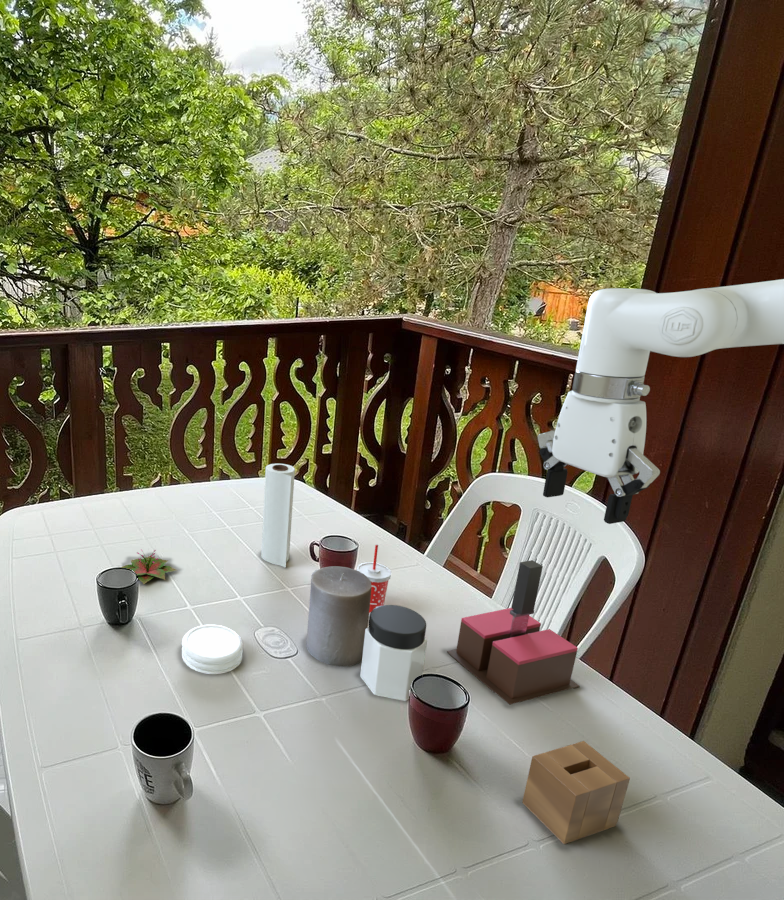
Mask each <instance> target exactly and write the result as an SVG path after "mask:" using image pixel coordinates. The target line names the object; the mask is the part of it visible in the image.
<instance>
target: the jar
mask: <svg viewBox="0 0 784 900" xmlns="http://www.w3.org/2000/svg"><path fill="white" fill-rule="evenodd" d="M426 632H427V622H426V619H425V618H424V617H423V616H422V615H421V614H420V613H419V612H417V611H415V610H414V609H412V608H408V607H406V606H403V605H398V604H397V605H396V604H384V605H383V606H379V607H376V608H374V609H373V610H372V611H371V613H370V616H369V618H368V627H367V628H366V629H365V637H364V646H363V655H362V660H361V664H360V665H361V666H360V674H359V677H360V678H361V679H362V681H363V682H364V684H365V685H366V686H367V687H368V689H369V690H370V691H371V693H372V694H373V695H374V696H378V697H382V698H388V699H392V700H398V701H403V702H406V701H408V700H409V699H410V698H409V690H410V685H411V683H412V681H413V680H414V679H415V678H416V677H418V676H420V675H422V676H423V673H424V667H425V661H426V660H425V659H426V653H427V645H428V638H426Z"/></svg>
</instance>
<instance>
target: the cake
mask: <svg viewBox="0 0 784 900" xmlns="http://www.w3.org/2000/svg"><path fill="white" fill-rule="evenodd" d="M510 610H513V609H512V608H511V607H508V608H503V609H497V610H494V611H488V612H484V613H479V614H473V615H469V616H464V617H461V619H460V620H461V621H460V626H459V632H458V638H457V644H456V648H455V649H454V648H453V649H449V650H446V653H447V654H448V655H449V656H450V657H452V658H453V660H455V661H456V662H458V664H460V665H461V666H462V667H463V668H464V669H466V671H468V672H469V673H470V674H471V675H472V676H474V677H475V678H476V679H478V680H479V682H481V683H482V684H483V686H485V687H486V688H488V689H489V690H491V692H492V693H494V694H496V695H497V696H499V698H501V699H502V701H504V702H505V703H507V704H508V705H513V704H514V705H515V704H517V703H522V702H525V701H530V700H534V699H537V698H541V697H544V696H548V695H552V694H556V693H560V692H564V691H569V690H571V689H574V690H575V689H579V688H580V687H581V686H580V685H579V684H578V683H577V682H575V680H572V675H573V671H574V666H575V663H576V658H577V653H578V651H579V647H577V646H576V645H574V644H573V643H571V641H568V640H567V639H565V638H564V637H563V636H560V635H559V634H558V633H556V632H555V631H553V630H552V629H550V628H548V629H544V630H541V625H542V623H541V622H539V621H538V619H537V620H536V619H535V618H534V617H532V616H531V615H529V619H528V624H527V629H526V634H525V635H521V636H516V637H512V638H509V634H510V629H511V624H512V619H513V616H512V615H511V614H510Z"/></svg>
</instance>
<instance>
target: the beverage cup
mask: <svg viewBox="0 0 784 900" xmlns="http://www.w3.org/2000/svg"><path fill="white" fill-rule="evenodd" d="M378 549H379V545H378V544H375V546H374V553H373V561H372V562H371V561H365V562H361V563H359V564H358V565H357V566H356V570H357V571H359V572H361V573H363V574H364V575H366V576H367V577H368V578H369V579H370V581H371V586H372V588H371V600H370V609H369V617H370V613H371V611H372V610H373V609H374V608H376V607H379V606H383V605H385V601H386V597H387V591H388V585H389V582H390V581H389V580H391V576H392V570H391V568H390V567H388V566H386V565H384V564H382V563H378V562H377V560H378Z"/></svg>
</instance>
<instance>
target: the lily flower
mask: <svg viewBox="0 0 784 900" xmlns="http://www.w3.org/2000/svg"><path fill="white" fill-rule="evenodd" d="M149 549H150V548H148V551H149ZM140 551H141V552H142V553H144V551H143V550H142V549H140ZM156 551H157V549H154V550H153V552H152V553H151V555H149V554H147V555H145V554H141V553H139V552H138V551H137V552H136V554H138V555H139V556H141V557H142V558H141V557H138V558H134V559H130V563H129V564H125V565H123V566H121V567H120V568H127V569H131V570H133V571H134V572H135V573H136V574H137V575H136V577H137V576H138V578H137V579H138V580H139V581H140V583H142V585H145V584H146V583H148V582H150V581H151V580H152V579H154V578H158V579H162V580H164V581H166V573H171V572H174V571H177V569H176V568H174V567H172V566H171V565H166V563H168V562H169V560H167V559H162V558H158V557H157V558H156V556H155V554H156Z"/></svg>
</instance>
